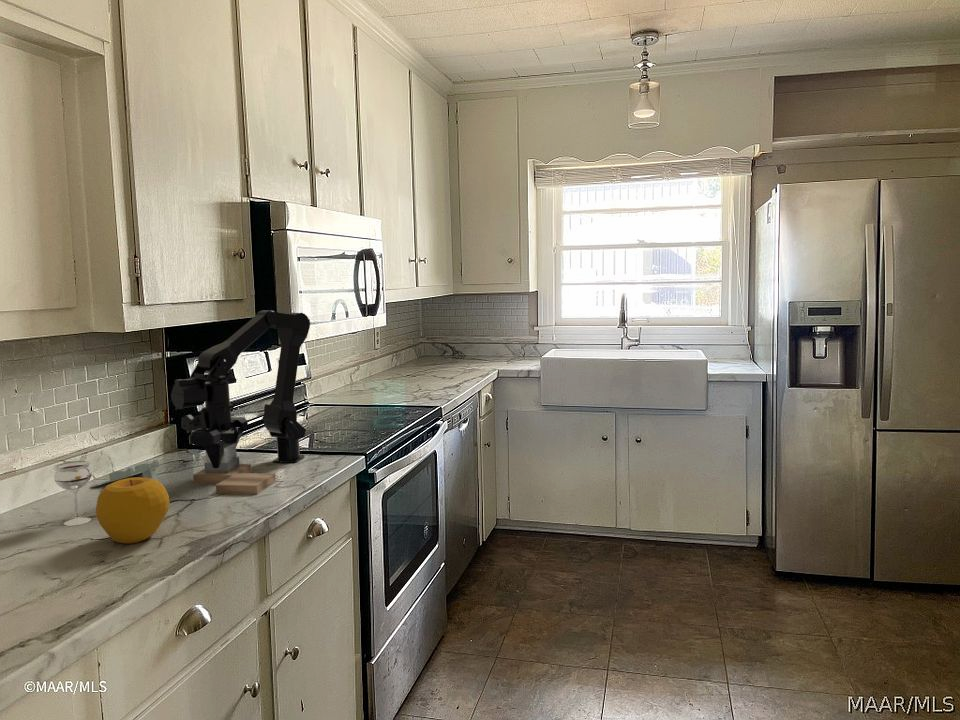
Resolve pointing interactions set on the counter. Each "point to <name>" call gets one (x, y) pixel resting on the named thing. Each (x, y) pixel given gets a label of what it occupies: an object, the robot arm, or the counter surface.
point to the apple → (132, 508)
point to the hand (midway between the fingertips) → (222, 464)
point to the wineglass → (73, 483)
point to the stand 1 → (219, 474)
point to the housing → (224, 460)
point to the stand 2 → (245, 483)
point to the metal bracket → (135, 472)
